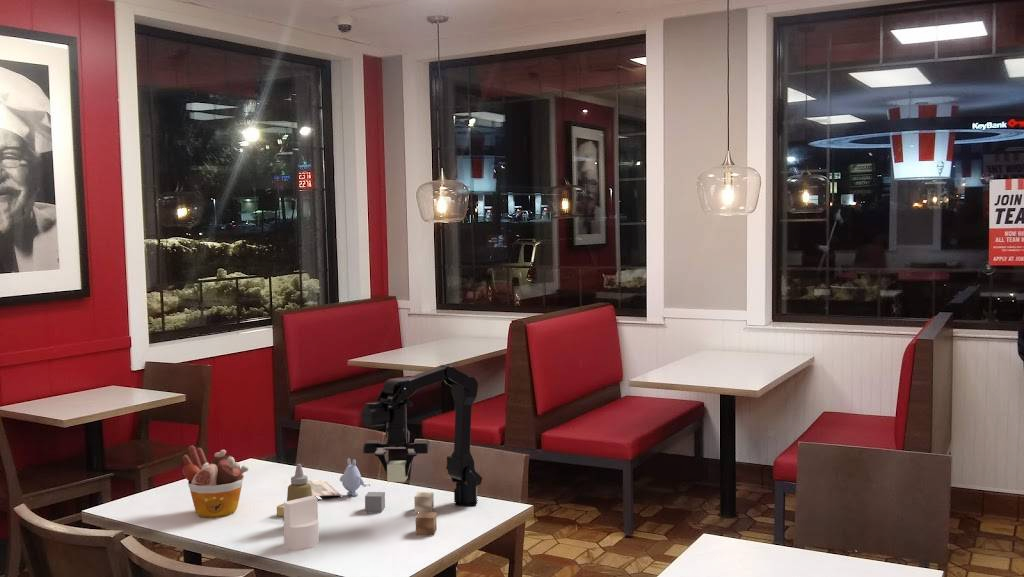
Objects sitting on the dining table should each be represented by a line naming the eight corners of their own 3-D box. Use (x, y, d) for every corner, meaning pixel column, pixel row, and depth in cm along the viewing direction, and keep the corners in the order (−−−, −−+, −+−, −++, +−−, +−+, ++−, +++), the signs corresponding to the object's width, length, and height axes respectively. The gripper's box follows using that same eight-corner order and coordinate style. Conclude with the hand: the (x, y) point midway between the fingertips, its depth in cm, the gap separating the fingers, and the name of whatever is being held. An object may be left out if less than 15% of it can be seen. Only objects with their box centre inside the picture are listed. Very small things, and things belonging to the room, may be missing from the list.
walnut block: (436, 530, 251) (436, 512, 251) (433, 535, 246) (433, 517, 246) (418, 529, 251) (418, 512, 251) (415, 535, 246) (415, 517, 246)
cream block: (433, 508, 272) (433, 492, 272) (431, 513, 267) (430, 496, 267) (417, 508, 272) (417, 492, 272) (414, 513, 267) (414, 496, 267)
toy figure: (371, 495, 287) (370, 458, 286) (357, 500, 282) (356, 462, 281) (347, 490, 293) (346, 454, 292) (333, 495, 288) (332, 458, 287)
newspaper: (290, 488, 300) (291, 480, 300) (326, 487, 305) (327, 480, 305) (304, 504, 279) (305, 496, 279) (342, 503, 284) (343, 495, 284)
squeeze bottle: (320, 523, 257) (318, 462, 256) (305, 532, 250) (303, 468, 249) (296, 521, 260) (294, 460, 259) (280, 529, 252) (278, 466, 251)
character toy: (293, 509, 260) (271, 507, 263) (293, 520, 261) (271, 518, 263) (309, 502, 268) (287, 500, 271) (309, 513, 268) (287, 510, 271)
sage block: (407, 477, 262) (407, 460, 262) (404, 481, 257) (404, 464, 257) (390, 477, 262) (390, 460, 262) (387, 481, 257) (387, 464, 257)
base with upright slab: (307, 536, 246) (306, 493, 246) (325, 544, 240) (324, 499, 239) (277, 544, 240) (277, 500, 239) (295, 552, 233) (294, 506, 233)
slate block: (385, 508, 273) (384, 491, 273) (381, 512, 268) (381, 496, 268) (368, 508, 273) (368, 491, 273) (365, 512, 268) (364, 496, 268)
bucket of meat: (259, 508, 273) (258, 444, 272) (222, 524, 258) (220, 455, 257) (209, 502, 281) (207, 439, 281) (169, 516, 266) (168, 450, 265)
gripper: (432, 417, 266) (433, 469, 267) (371, 417, 268) (372, 469, 268) (426, 424, 255) (427, 479, 256) (362, 424, 257) (363, 478, 257)
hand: (397, 476), depth 260 cm, fingers closed on sage block, 5 cm apart
